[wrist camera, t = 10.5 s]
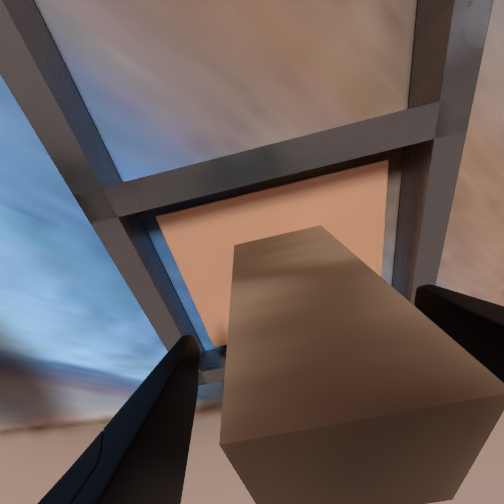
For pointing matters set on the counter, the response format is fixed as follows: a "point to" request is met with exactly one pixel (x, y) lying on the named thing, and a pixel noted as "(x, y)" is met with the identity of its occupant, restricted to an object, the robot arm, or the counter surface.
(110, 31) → the counter surface
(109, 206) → the rail
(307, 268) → the walnut peg
